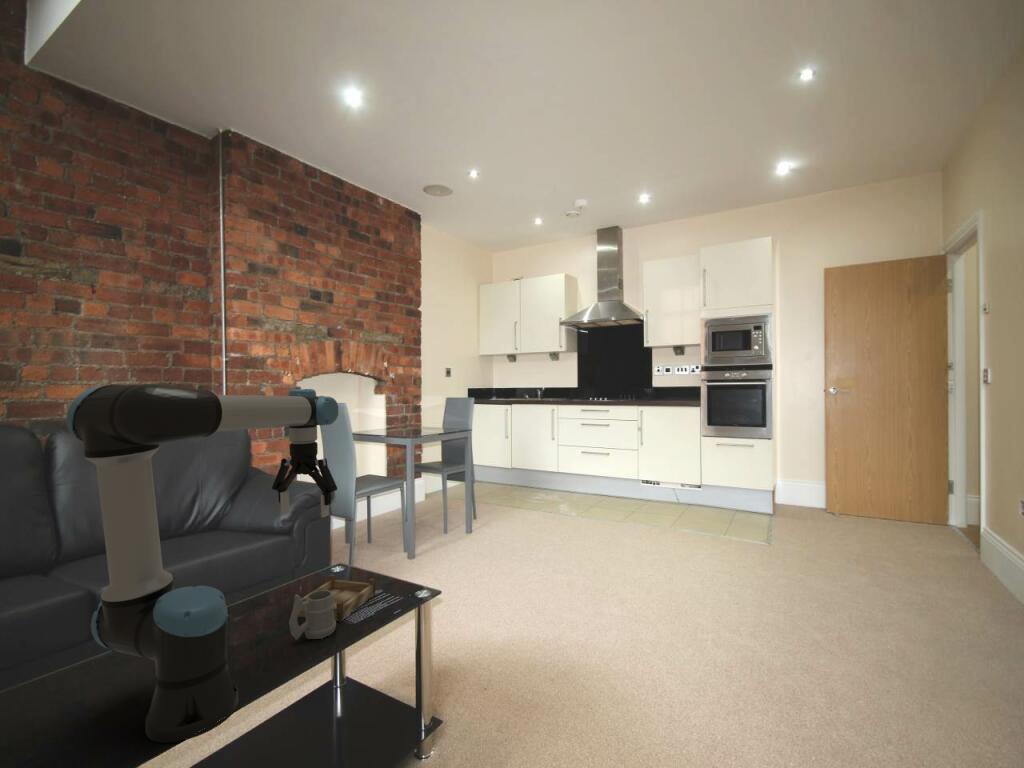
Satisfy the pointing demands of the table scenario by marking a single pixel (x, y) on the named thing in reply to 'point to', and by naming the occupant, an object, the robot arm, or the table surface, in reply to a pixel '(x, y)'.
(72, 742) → the table surface
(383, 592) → the table surface
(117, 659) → the table surface
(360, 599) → the wooden tray
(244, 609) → the table surface
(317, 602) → the mug
